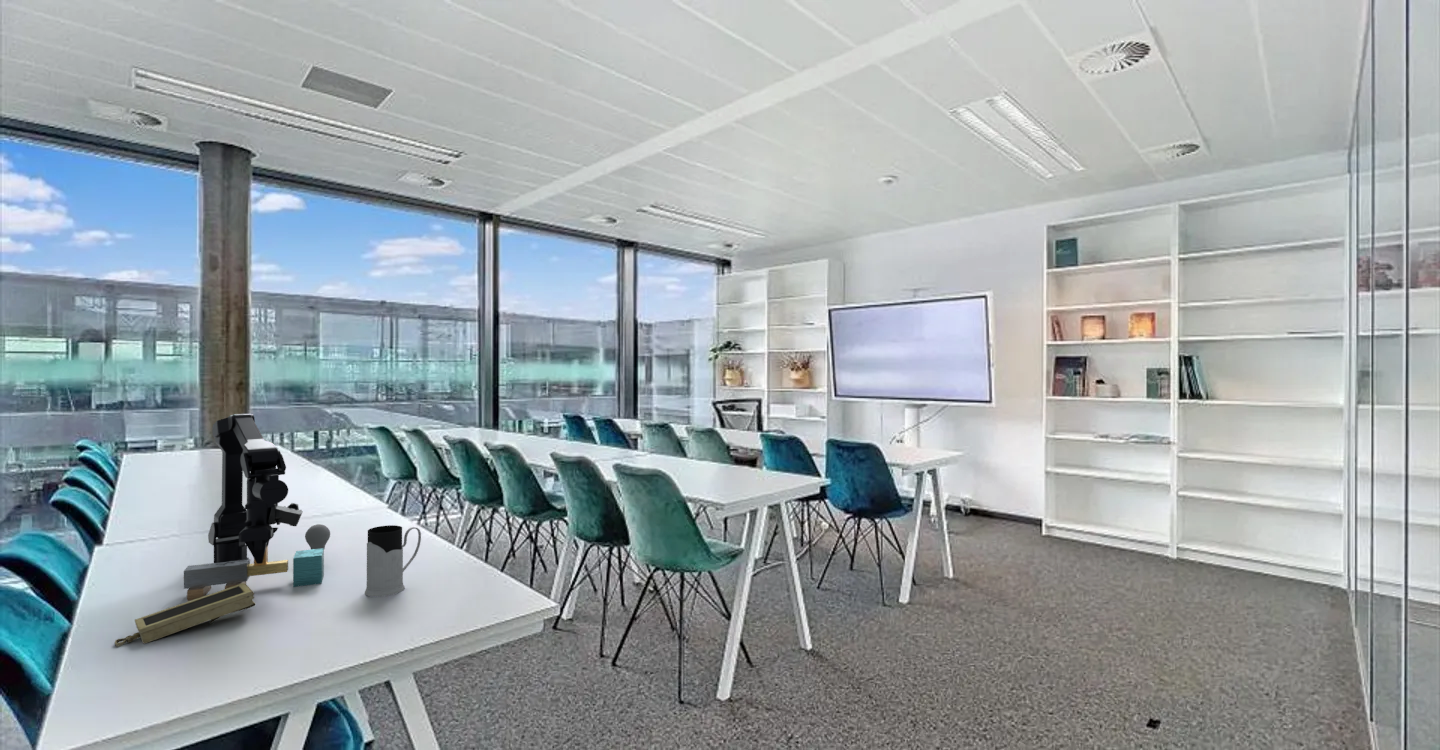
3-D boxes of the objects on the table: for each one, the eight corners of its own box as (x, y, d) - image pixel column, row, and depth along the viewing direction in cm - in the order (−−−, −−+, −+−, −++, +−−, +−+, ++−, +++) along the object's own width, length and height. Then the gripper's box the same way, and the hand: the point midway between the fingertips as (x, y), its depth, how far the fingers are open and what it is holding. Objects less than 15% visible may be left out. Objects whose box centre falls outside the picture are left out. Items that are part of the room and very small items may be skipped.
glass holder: (356, 592, 156) (356, 530, 156) (408, 576, 169) (409, 518, 169) (379, 599, 152) (379, 535, 152) (431, 581, 165) (431, 522, 165)
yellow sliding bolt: (189, 583, 152) (189, 556, 152) (193, 579, 154) (193, 552, 154) (286, 572, 161) (286, 546, 161) (288, 568, 163) (288, 543, 163)
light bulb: (310, 564, 177) (310, 528, 177) (301, 560, 181) (301, 524, 181) (333, 559, 182) (334, 524, 182) (324, 555, 186) (324, 521, 186)
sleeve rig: (181, 601, 149) (181, 571, 149) (190, 590, 156) (190, 561, 156) (321, 584, 162) (321, 555, 162) (323, 574, 169) (323, 547, 169)
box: (259, 611, 140) (254, 589, 140) (120, 663, 124) (114, 638, 123) (249, 602, 146) (245, 581, 145) (115, 650, 130) (109, 627, 129)
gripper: (295, 502, 155) (295, 567, 155) (303, 489, 171) (303, 547, 171) (238, 506, 150) (238, 574, 150) (252, 492, 166) (252, 553, 166)
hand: (261, 561), depth 159 cm, fingers closed on yellow sliding bolt, 3 cm apart
